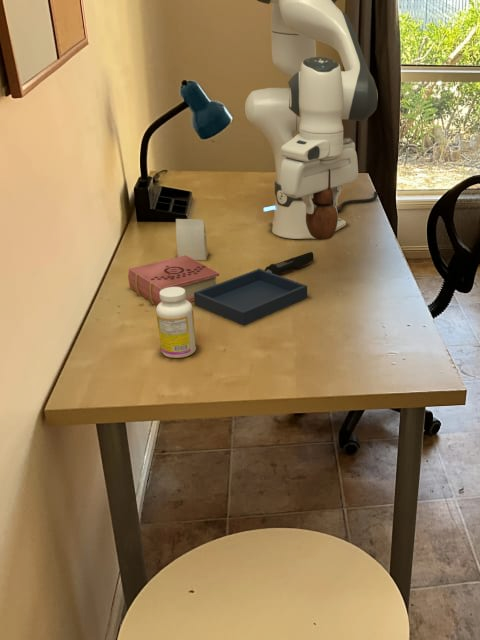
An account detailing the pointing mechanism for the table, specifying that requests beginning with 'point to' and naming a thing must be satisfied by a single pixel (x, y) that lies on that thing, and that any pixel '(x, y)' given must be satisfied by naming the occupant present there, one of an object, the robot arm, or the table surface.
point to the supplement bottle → (175, 323)
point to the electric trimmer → (290, 264)
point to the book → (171, 277)
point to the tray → (250, 296)
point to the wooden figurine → (323, 215)
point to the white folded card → (191, 238)
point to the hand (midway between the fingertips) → (321, 209)
